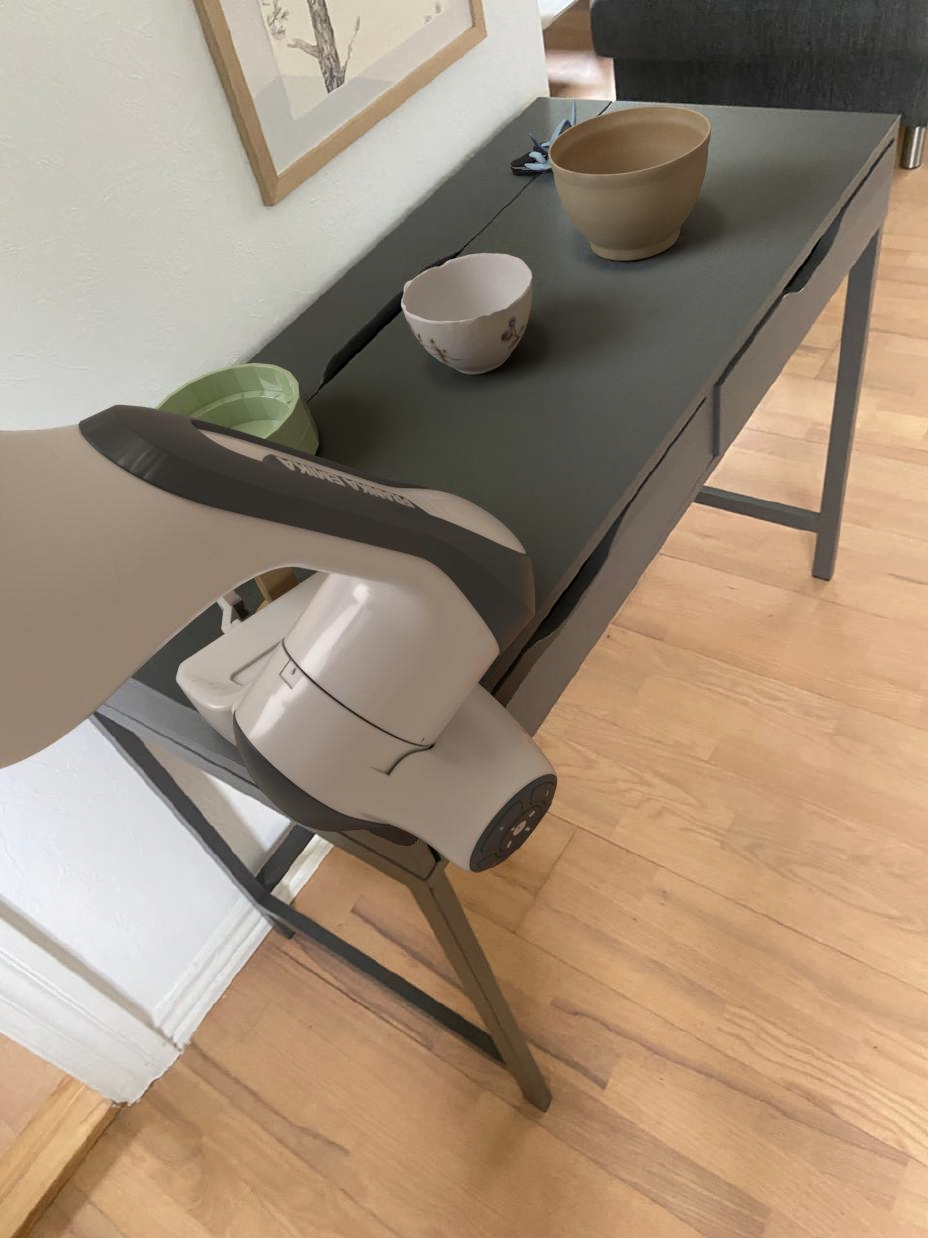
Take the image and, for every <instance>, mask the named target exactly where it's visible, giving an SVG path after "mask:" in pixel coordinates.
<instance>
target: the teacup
mask: <svg viewBox="0 0 928 1238" xmlns="http://www.w3.org/2000/svg"><path fill="white" fill-rule="evenodd" d="M402 291H403V293H402V294H403V295H402V298H401V302H400V306H401V309H402V312H403V314H404V317H405V320H406V322H407V324H408V326H409V328H410V329H411V332H412V333H413V335H414V336H415V338H416V339H417V341H418V342H419V344H420V345H421V347H423V348H424V349H425V351H427V352H428V354H430V355H431V356H432V357H434V358H435V359H436V360H437V361H439V362H441V363H442V364H443V365H446V366H448V367H450V368H452V369H455V370H456V371H457V372H459V373H462V374H465V375H482V374H485V373H488V372H491V371H492V370H493V371H494V370H495V369H497V368H499V367H501V366H502V365H503V364H504V363H505V362H506V361H507V360H508V359H509V358H510V357H511V354H512V352H513V351H514V350H515V349H516V347H517V346H518V345H519V343H520V341H521V339H522V337H523V336H524V333H525V331H526V329H527V326H528V323H529V320H530V316H531V309H532V303H533V302H532V301H533V272H532V269H531V268H530V267H529V266H528V264H526V263H525V261H524V260H523V259H522V258H520V257H517V256H513V255H511V254H507V253H499V252H495V253H492V252H491V253H490V252H480V253H473V254H466V255H463V256H459V257H455V258H452V259H449V260H446V262H444V263H443V264H441V265H440V266H434V267H430V268H428V269H426V270H424V271H422V272H421V273H419V274H417V275H416V276H415V277H414V278H413V279H410V280H408V281H406V283H405V284H404V286H403V290H402Z"/></svg>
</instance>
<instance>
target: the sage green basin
mask: <svg viewBox="0 0 928 1238" xmlns="http://www.w3.org/2000/svg"><path fill="white" fill-rule="evenodd" d="M304 395H305V394H304V393H303V390H302V388H301V385H300V382H299V381H298V380H297V379H296V377H295V376H294V375H293V374H292V373H291V371H290V370H287V369H285V368H283V367H281V366H279V365H276V364H271V363H262V362H261V363H260V362H251V363H241V364H234V365H228V366H225V367H221V368H219V369H215V370H212V371H211V370H210V371H209V372H206V373H204V374H202V375H200V376H198V377H195V378H194V379H192V380H189V381H187V382H185V383H184V384H182V385H181V386H180V387H178V388H177V389H175V390H174V391H172V392H171V393H169V394H167V396H166V397H164V398H163V400H162V401H160V403H158V405H156V407H154V409H160V410H166V411H170V412H174V413H178V414H182V415H186V416H190V417H194V418H198V419H201V420H205V421H208V422H212V423H215V424H219V425H222V426H225V427H228V428H232V429H235V430H238V431H241V432H245V433H248V434H251V435H254V436H257V437H260V438H263V439H267V440H270V441H273V442H276V443H279V444H282V445H285V446H288V447H291V448H294V449H297V450H300V451H303V452H306V453H309V454H311V455H314V456H316V454H317V451H318V448H319V446H320V440H319V431H318V428H317V425H316V422H315V419H314V417H313V415H312V413H311V410H310V408H309V405H308V403H307V400H306V398H305V396H304Z"/></svg>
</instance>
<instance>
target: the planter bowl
mask: <svg viewBox="0 0 928 1238" xmlns="http://www.w3.org/2000/svg"><path fill="white" fill-rule="evenodd" d="M711 136H712V124H711V121H710V120H709V118H708V117H707V116H706V115H705V114H703V113H701V112H699V111H697V110H694V109H691V108H687V107H683V106H677V105H664V104H662V105H661V104H660V105H659V104H657V105H655V104H653V105H641V106H632V107H626V108H622V109H616V110H613V111H609V112H605V113H603V114H598V115H595V116H593V117H590V118H587V119H585V120H582V121H580V122H578V123H576V124H575V125H574V126H572V127H570V128H569V129H567V130H566V131H564V132H563V133H562V134H560V135H559V136H558V137H557V138H556V139H555V140H554V141H553V143H552V144H551V146H550V148H549V153H548V155H549V162H550V166H551V168H552V170H553V172H552V173H553V180H554V184H555V187H556V188H555V189H556V191H557V194H558V198H559V199H560V202H561V204H562V206H563V209H564V210H565V213H566V214H567V216H568V218H569V219H570V221H571V223H572V224H573V225H574V227H576V229H577V230H578V231H579V232H580V234H582V236H584V237H585V238H586V239H587V240H588V241H589V246H590V248H591V250H592V252H593V253H594V254H595V255H597V256H599V257H601V258H603V259H606V260H611V261H621V262H622V261H623V262H627V261H636V260H642V259H647V258H651V257H653V256H656V255H658V254H661V253H662V252H664V251H666V250H668V249H669V248H670V247H672V246H673V245H674V244H675V243H676V242H677V240H678V239H679V236H680V232H681V226H682V225H683V224H684V222H685V221H686V219H687V218H688V216H689V215H690V214H691V212H692V210H693V208H694V206H695V204H696V202H697V200H698V198H699V196H700V192H701V190H702V186H703V184H704V180H705V176H706V172H707V168H708V160H709V144H710V142H711ZM590 244H591V245H590Z"/></svg>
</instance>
